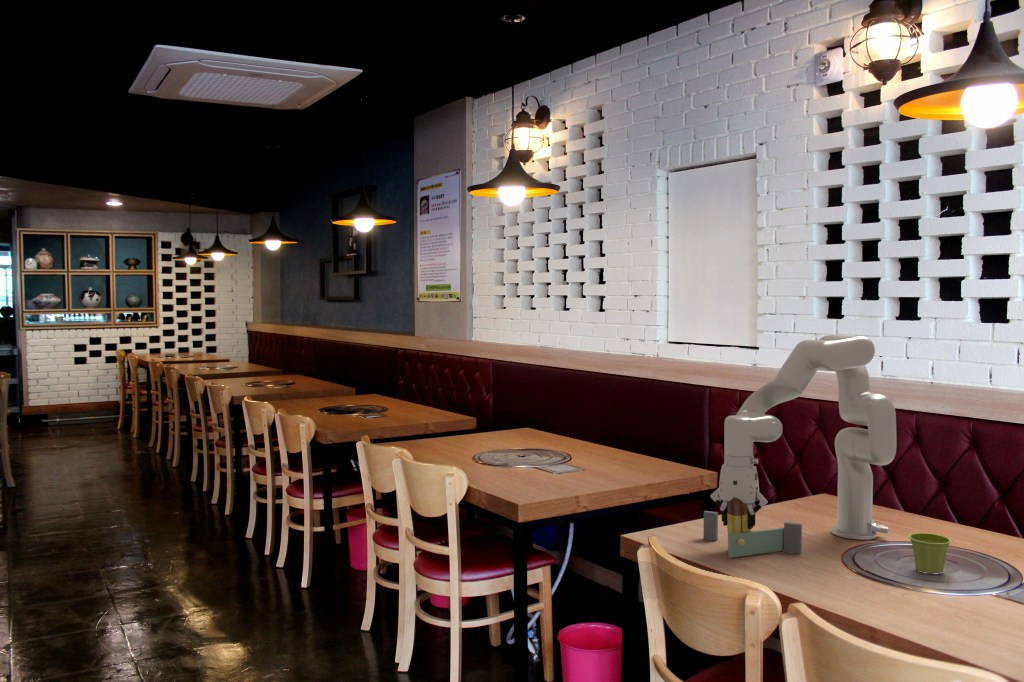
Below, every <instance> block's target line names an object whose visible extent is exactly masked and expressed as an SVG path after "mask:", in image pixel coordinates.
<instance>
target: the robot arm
mask: <svg viewBox="0 0 1024 682" xmlns="http://www.w3.org/2000/svg"><path fill="white" fill-rule="evenodd" d="M874 345H875V344H874V342H873V341H872V340H871V339H870V338H868V337H866V336H864V335H863V336H862V335H852V334H851V335H848V334H828V335H824V336H822V337H820V338H819V339H806V340H801V341H800V342H798V343H797V344H796V345H795V346H794V348H793V350H792V351H791V352H790V354H789V355H788V357H787V359H786V360H785V362H784V363H783V365H782V366H781V368H780V369H779V371H778V372H777V374H776V375H775V376H774V378H772V380H770V381H768V382H766V383H765V384H764V385H762V386H761V387H759V388H758V389H756V390H755V391H753V392H752V393H751V394H750V395H749V396H748V397H747V398H746V399H745V400H744V402H743V404H742V405H741V406H740V408H739V410H738V411H737V413H736V415H735V414H733V415H728V416H727V417H726V418H725V419H724V424H723V425H724V426H723V427H724V436H723V437H724V438H723V439H724V443H723V444H724V448H723V449H724V452H723V453H724V455H723V458H724V462H723V464H722V465H721V469H720V474H719V483H718V484H719V485H718V488H717V489H716V490H715V491H713V492H712V493H711V494H710V496H709V497H710V498H711V500H713V502H715V504H716V505H717V506H718V508H719V510H720V511H721V522H723V523H722V524H723V526H724V527H725V526H727V502H728V501H730V500H732V498H733V497H735V498H738V499H740V500H741V501H742V502H743V503H745V504H747V507H748V509H749V515H748V529H751V530H752V529H753V528H754V526H756V513H758V511H760V510H761V509H762V508H763V507H764V506H766V505H767V504H768V500H767V498H766V497H765V496H764V495H763V494H762V493H761V492H760V486H759V485H760V484H759V476H758V475H759V474H758V470H757V466H756V465H754V464H757V465H758V464H759V458H756V457H755V456H754V442H761V443H771V442H772V443H773V442H775V441H777V440H778V439H779V438H780V437H781V436H782V434H783V431H784V430H783V423H782V422H781V420H780V419H779V418H777V417H776V416H775V415H774V416H773V415H772V414H771V415H770V414H766V413H767V412H768V411H769V410H770V409H771V408H773V407H775V406H777V405H779V404H782V403H785V402H788V401H791V400H795V399H796V398H799V397H800V396H802V394H803V393H804V392H805V390H806V388H807V386H808V385H809V383H810V382H811V380H812V379H813V377H815V374H816V373H817V372H818V371H821V372H823V371H824V372H835V375H836V377H837V390H838V410H839V411H838V412H839V416H840V418H841V419H842V420H843V421H845V422H847V423H850V424H853V425H861V426H867V429H866V428H860V427H856V426H855V427H854V426H853V427H846V428H842V429H840V430H839V431H838V433H837V434H836V436H835V438H834V448H835V455H836V460H837V461H836V462H837V505H836V506H837V507H836V508H837V512H836V513H837V517H836V518H837V520H836V521H837V522H836V524H837V525H834V526H832V527H831V530H830V531H831V533H832V535H835V536H837V537H840V538H845V539H851V540H859V541H861V540H862V541H867V540H874V539H876V538H878V536H879V533H882V534H889V530H890V529H889V528H890V527H889V526H886V524H885V525H884V524H877V523H876V522H875V520H876V519H875V518H874V519H873V497H874V495H873V493H874V492H873V491H874V490H873V489H874V475H873V471H872V468H871V465H873V466H874V465H876V466H887V465H889V464H890V463H892V462H893V460H894V459H895V457H896V454H897V446H898V445H897V415H896V409H895V405H894V403H893V402H892V400H891V399H890V398H889V397H888V396H886V395H883V394H881V393H873V392H871V387H870V386H871V385H870V375H869V372H868V368H867V367H866V365H868V364H869V363H871V362H872V360H873V359H874V356H875V354H876V349H875V347H876V346H874ZM870 464H871V465H870ZM733 480H736V481H737V485H733ZM758 501H759V503H758V504H757V505H756V503H755V502H758Z"/></svg>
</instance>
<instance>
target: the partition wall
mask: <svg viewBox="0 0 1024 682" xmlns="http://www.w3.org/2000/svg"><path fill="white" fill-rule="evenodd" d="M802 526H803V524H802V523H798V522H792V521H791V522H790V521H785V522H784V524H783V528H784V550H783V552H784V551H785V552H784V553H787V552H791V553H790V554H794V553H797V554H796V555H801V554H802V545H803V544H802V543H803V542H802V541H803V540H802V539H803V537H802V536H803V535H802V533H803V531H802V530H803V527H802ZM702 538H703V540H704V541H705V540H706V541H711V542H717V541H719V540H718V539H719V512H717V511H709V510H704V511H703V537H702Z"/></svg>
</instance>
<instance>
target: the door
mask: <svg viewBox="0 0 1024 682" xmlns="http://www.w3.org/2000/svg"><path fill="white" fill-rule="evenodd" d="M727 546H728V547H727V549H728V551H727V557H729V558H730V559H733V558H740V557H747V556H753V555H762V554H766V553H774V552H780V551H781V552H782V551H784V527H774V528H767V529H759V530H751V532H743V533H735V534H728V533H727Z"/></svg>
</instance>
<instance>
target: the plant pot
mask: <svg viewBox="0 0 1024 682" xmlns="http://www.w3.org/2000/svg"><path fill="white" fill-rule="evenodd" d="M908 538H909V539H910V544H911V545H912V550H913V557H914V563H915V564H914V566H915V570H916V569H917V570H919V571H922V572H927V573H940V572H943V573H944V569H945V565H946V564H945V563H946V557H947V553H948V551H947V550H948V549H949V546H950V544H951V542H952V540H951V539H950V538H949V537H947V536H943V535H941V534H936V533H929V532H927V533H926V532H916V533H915V532H914V533H911V534H909V535H908ZM917 570H916V571H917Z"/></svg>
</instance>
